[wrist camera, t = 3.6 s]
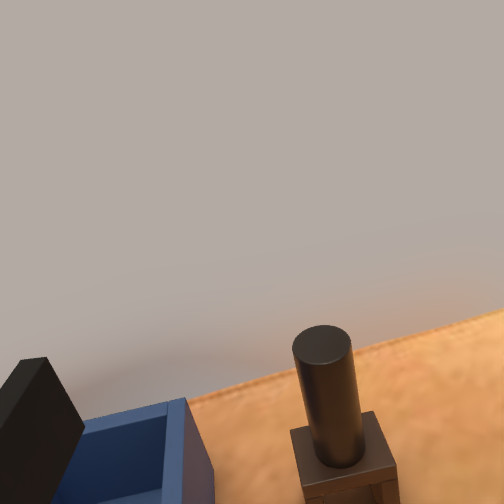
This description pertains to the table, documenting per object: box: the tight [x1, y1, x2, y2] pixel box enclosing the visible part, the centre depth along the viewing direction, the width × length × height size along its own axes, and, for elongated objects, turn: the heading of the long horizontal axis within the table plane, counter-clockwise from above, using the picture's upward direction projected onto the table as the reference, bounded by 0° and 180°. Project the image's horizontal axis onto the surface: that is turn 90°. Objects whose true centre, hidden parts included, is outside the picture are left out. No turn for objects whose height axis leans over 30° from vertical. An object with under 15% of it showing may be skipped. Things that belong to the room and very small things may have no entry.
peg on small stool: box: [290, 325, 400, 504], centre depth 27 cm, size 5×4×14 cm
